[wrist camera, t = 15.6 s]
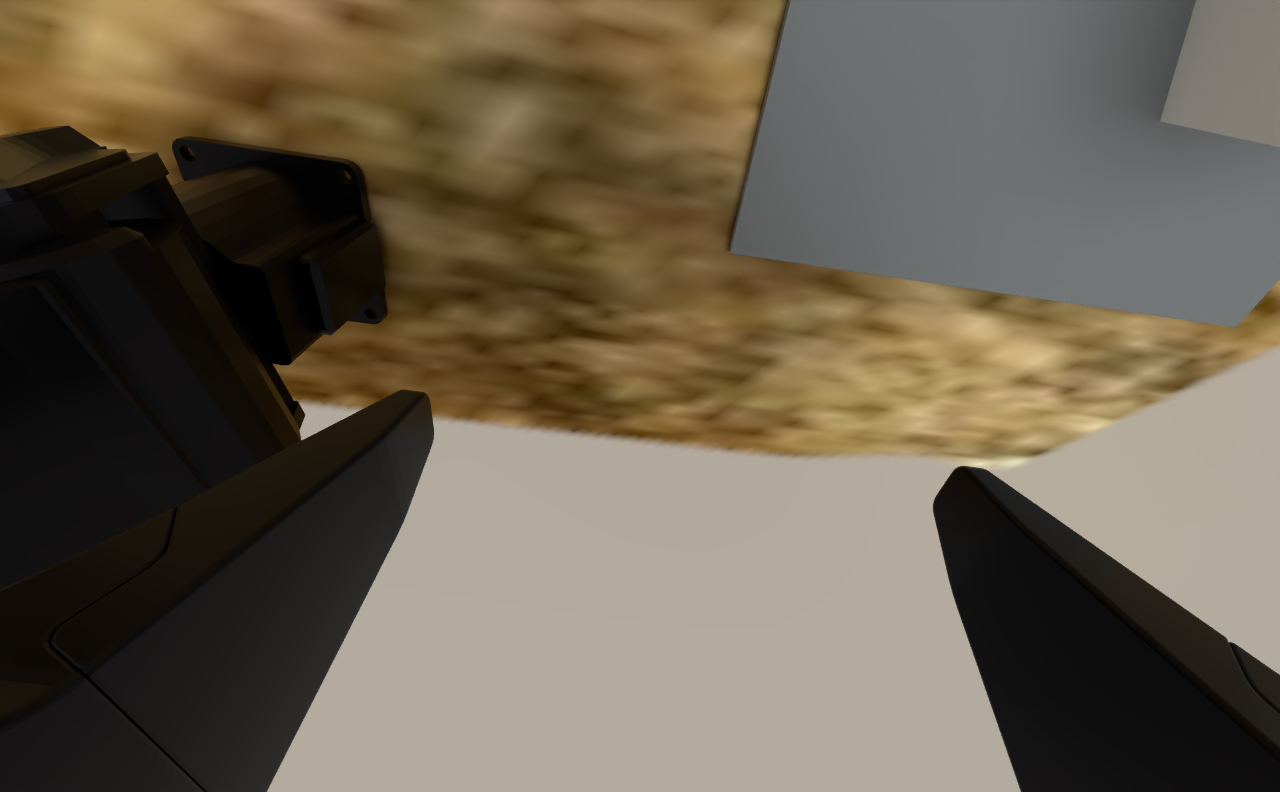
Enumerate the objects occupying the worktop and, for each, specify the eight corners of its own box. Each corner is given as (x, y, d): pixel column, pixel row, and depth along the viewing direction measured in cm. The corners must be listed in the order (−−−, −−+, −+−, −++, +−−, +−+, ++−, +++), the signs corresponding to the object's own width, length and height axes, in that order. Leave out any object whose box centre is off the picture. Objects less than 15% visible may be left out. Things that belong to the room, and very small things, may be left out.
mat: (729, 248, 20) (730, 253, 20) (870, -348, 12) (877, -362, 11) (1224, 321, 21) (1235, 327, 20) (1688, -197, 12) (1723, -205, 12)
